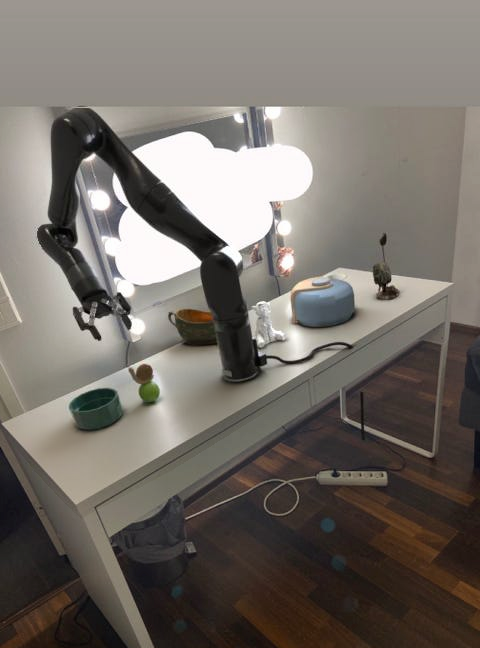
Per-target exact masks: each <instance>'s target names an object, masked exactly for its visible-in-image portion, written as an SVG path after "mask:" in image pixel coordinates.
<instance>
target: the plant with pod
mask: <svg viewBox="0 0 480 648" xmlns="http://www.w3.org/2000/svg"><path fill="white" fill-rule="evenodd" d="M387 237H388V236H387V233H386V232H382V233H381V235H380V236H379V239H378V241H379V245H380V246H381V248H382V256H383V257H382V258H383V260H382V261H377V262H376V263H375V264H374V263H371V264H374V265H373V266H372V277H373V282H374V284H375V285H378V290H377V291H378V292H377V293H375V294H376V296H375V297H376V298H377V299H380V300H391V299H393V298H395V297H397V296H398V295H399V292H400V289H398V288H397V287H396V286H395V285H394V284H391V285H389V284H390V283H391V282H392V279H393V278H392V272H391V269H390V265H389V263H387V261H386V260H385V251H384V249H385V248H384V246H385V245H386V244H387Z"/></svg>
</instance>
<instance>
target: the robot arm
mask: <svg viewBox="0 0 480 648" xmlns="http://www.w3.org/2000/svg"><path fill="white" fill-rule="evenodd" d="M76 107H87V106H86V105H78V106H76ZM93 155H96V156H97V157H98V158H99V159H101V160H102V161H103V162H104V163H105V164H106V165H107V166H108V167H109V168H110V169H111V171H113V173H114V174H115V176H116V178H117V180H118V182H119V184H120V187H121V189H122V192H123V194H124V197H125V199H126V202H127V204H128V205H129V206H130V208H131V209H132V211H134V212H135V214H137V215H138V216H139V217H140V218H141V219H142V220H143V221H144V222H145V223H146V224H147V225H148V226H150V227H151V228H152V229H153V230H155V231H157V232H158V233H160V234H161V235H163V236H164V237H167V238H168V239H171V240H173V241H174V242H177V243H178V244H181V245H182V246H184V247H185V248H186V249H188V251H190V252H191V253H192V254H193V255H194V256H195V257H196V258H197V259H198V260H199V261H200V266H199V275H200V276H199V277H200V281H201V286H202V290H203V293H204V294H203V295H204V298H205V302H206V306H207V308H208V310H209V312H211V314H212V319H213V324H214V328H215V333H216V338H217V343H216V344H217V348H218V352H219V357H220V362H221V367H222V368H221V373H222V375H223V378H224V380H225V382H229V383H234V384H235V383H236V384H237V383H243V382H247V381H251V380H252V379H254V378H257V376H258V375H259V373H261V372H262V368H261V367H264V366H266V365H268V359H269V360H277V361H278V362H280V363H281V364H285V365H295V364H299V363H303V362H306V361H308V360H310V359H311V358H312V357H313V356H314V354H315V353H316V352H317V351H320V350H323V349H326V348H329V347H333V346H344V347H347V348H349V349H353V348H354V346H353V345H352V344H350V343H347V342H344V341H334V342H329V343H326V344H323V345H320V346H317V347H314V348H313V349H312V350H311V351H310V353H309V354H308V355H306V356H305V357H302V358H300V359H299V358H298V359H295V360H294V359H293V360H285V359H283V358H281V357H279V356H277V355H269V354H267V353H265V352H262V351H259V350H258V349H259V347H258V345H257V341H256V337H253V333H252V326H251V320H250V313H249V309H248V303H247V300H246V299H245V298H244V296H243V292H242V287H241V281H240V277H241V275H242V273H243V271H244V261H243V257H242V256H241V254H240V252H239V251H238V250H237V249H236V248H235V247H234V246H233V245H231V244H230V243H229V242H228V241H226V240H225V239H224V238H223V237H221V236H220V235H219V234H217V233H216V232H215V231H214V230H213V229H211V228H209V226H208V225H206V224H205V223H204V222H203V220H201V219H200V218H199V217H198V215H196V213H194V211H193V210H191V208H190V207H189V206H188V205H187V204H186V203H184V202H183V201H182V200H181V199H180V197H178V195H176V193H175V192H174V191H173V190H172V189H170V187H169V186H168V185H166V183H164V181H162V180H161V179H160V178H159V177H158V176H157V175H155V173H154V172H153V171H151V170H150V168H149V167H148V166H146V165H145V163H143V161H142V160H140V159H139V157H137V156H136V154H135V153H134V152H133V151H132V150H130V148H129V147H128V146H127V145H126V144H125V142H123V140H122V139H121V138H120V137H119V136H118V134H116V133H115V131H114V130H113V129H112V128H111V127H110V125H109V124H108V123H107V122H106V121H105V120H104V118H102V116H100V114H98V112H96V111H95V110H94V109H93V108H91V107H89V108H75V107H73V108H71V109H69V110H67V111H65V112H63V113H62V114H60V115H58V116H57V117H56V118H55V119H54V120H53V122H52V123H51V127H50V158H51V159H50V164H51V165H50V166H51V167H50V168H51V185H50V186H51V187H50V194H49V199H48V207H47V218H48V220H49V222H50V223H43V224H40V225H41V226H40V225H39V226H40V227H39V226H38V227H39V228H38V227H37V229H38V231H37V230H36V231H37V237H36V239H37V238H38V241H39V243H38V245H39V244H40V245H41V247H42V248H41V247H40V248H41V249H42V251H43V250H44V251H43V252H44V253H45V254H46V255H47V256H48V257H49V258H50V259H52V260H53V261H54V262H55V263H56V264H57V265H58V266H59V267H60V269H61V271H62V272H63V274H64V276H65V278H66V280H67V282H68V284H69V287H70V289H71V291H73V293H74V295H75V296H76V299H77V300H78V302H79V303H80V305H81V306H79V307H77V306H73V307H72V315H73V317H74V320H75V321H76V324H77V325H78V328H79V330H80V331H82V332H84V331H89V333H90V335H91V336H92V338H93V339H94V340H95V341H97V342H100V341H101V342H102V335H101V333H100V331H99V330H98V328H97V327H96V325H95V321H96V319H98V320H100V319H103V318H104V317H109V316H110V315H111V316H114V317H118V318H120V319H121V321H122V323H123V325H124V326H125V328H126V330H127V331H131V330H132V327H133V326H132V325H133V322H132V320H131V319H130V318H129V317H130V316H129V315H131V310H132V307H131V305H130V304H129V302H128V301H127V299H126V298H125V296H124V295H123V294H122V293H121V292H120V291H117V292H116V294H115V295H113V296H111V295H110V294H109V293H108V292H107V291H108V290H107V289H106V288H105V286H104V285H103V282H102V281H101V280H100V278H99V276H98V275H97V273H96V271H95V270H94V268H93V267H92V266H91V265H90V263H89V261H88V260H87V257H85V255H84V253H83V252H82V251H81V250H80V249H79V248H77V247H76V246H77V244H78V243H79V235H78V228H77V217H78V213H79V209H80V203H81V196H80V195H81V194H80V189H79V187H78V184H77V180H76V179H77V175H78V172H79V169H80V166H81V165H82V162H83V161H84V160H87V159H88V158H90V157H91V156H93ZM38 241H37V242H38ZM40 245H39V246H40ZM114 302H115V303H116V304H115V303H114ZM119 306H120V307H119ZM83 313H84V314H87V315H88V316H89V317H88V321H87V322H85V321H84V318H83ZM359 397H360V398H359V399H360V432H361V441H362V442H363V441H365V440H366V435H365V410H364V409H365V405H364V391H361V392H359Z"/></svg>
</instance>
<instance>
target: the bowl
mask: <svg viewBox="0 0 480 648" xmlns="http://www.w3.org/2000/svg"><path fill="white" fill-rule="evenodd" d="M68 410H69V412H70V415H71V418H72V419H73V422H74V425H75V426H76V427H77V428H78V429H82V430H84V431H85V430H86V431H95V430H100V429H103V428H106V427H108V426H111V425H112V424H114V423H116V422H118V420H119V419H120V418H121V417H122V415H123V414H124V407H123V404H122V400H121V396H120V394H119V391H118V390H117V389H115V388H111V387H99V388H95V389H91V390H88V391H84V392H83V393H80V394H79V395H77V396H76V397H74V398H73V399H72V400H71V401H70V402H69V404H68Z"/></svg>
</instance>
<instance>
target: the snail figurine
mask: <svg viewBox="0 0 480 648" xmlns="http://www.w3.org/2000/svg"><path fill="white" fill-rule="evenodd" d="M125 365H126V367H127V370H128V373H129V375H130V376H131V377H132V380H133V381H134V382H135V383H137V384H138V385H140V386H139V387H138V395H139V398H140V400H142V401H144V402H146V403H152V402H155V401H156V400H158V399H159V397H160V395H161V390H160V387H159V385H158V384H157V383H155V381H153V379H154V377H155V375H154V374H153V373H154V370H153V367H152V366H151V365H150V364H149V363H141V364H140V365H139V366H138V367H137V368H136V371H135V368H134V367H131V366H130V363H129V364H128V363H126V364H125Z"/></svg>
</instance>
